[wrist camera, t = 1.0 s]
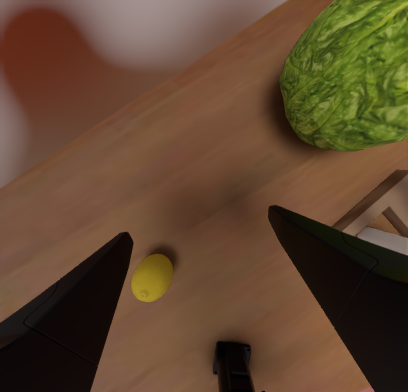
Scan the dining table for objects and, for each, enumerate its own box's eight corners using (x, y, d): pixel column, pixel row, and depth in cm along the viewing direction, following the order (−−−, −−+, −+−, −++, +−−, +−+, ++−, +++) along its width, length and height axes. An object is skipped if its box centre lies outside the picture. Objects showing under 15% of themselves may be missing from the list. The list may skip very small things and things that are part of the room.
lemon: (158, 239, 26) (138, 266, 18) (183, 258, 26) (174, 293, 18) (139, 262, 26) (111, 299, 18) (164, 281, 26) (147, 324, 19)
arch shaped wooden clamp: (371, 281, 27) (401, 298, 23) (326, 231, 26) (349, 241, 22) (440, 224, 26) (484, 232, 22) (395, 170, 25) (433, 168, 21)
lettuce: (364, 47, 26) (366, 139, 29) (246, 47, 19) (265, 168, 22) (611, -106, 12) (564, 103, 15) (505, -320, 5) (458, 152, 8)
